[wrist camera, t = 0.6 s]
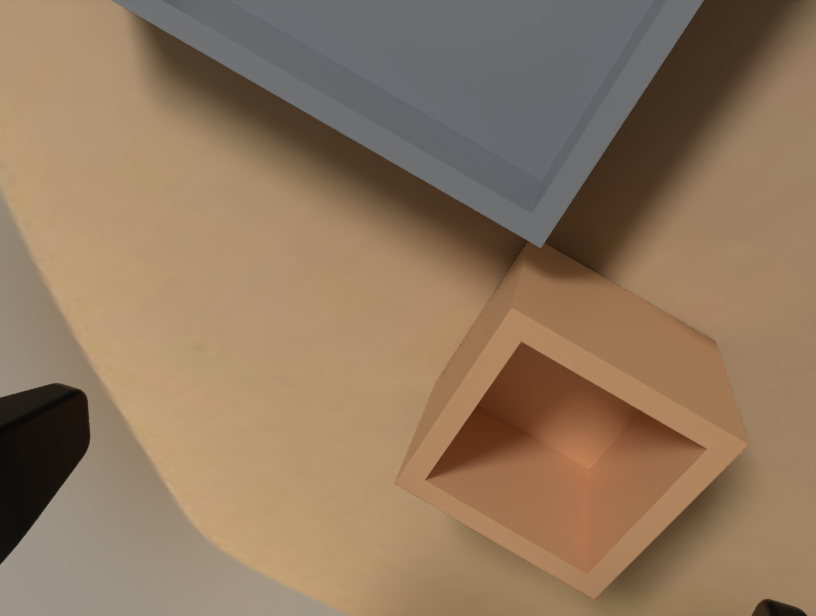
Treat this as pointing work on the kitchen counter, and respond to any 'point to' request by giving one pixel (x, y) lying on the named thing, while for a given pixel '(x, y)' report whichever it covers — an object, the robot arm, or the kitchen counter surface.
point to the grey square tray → (451, 82)
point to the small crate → (573, 422)
